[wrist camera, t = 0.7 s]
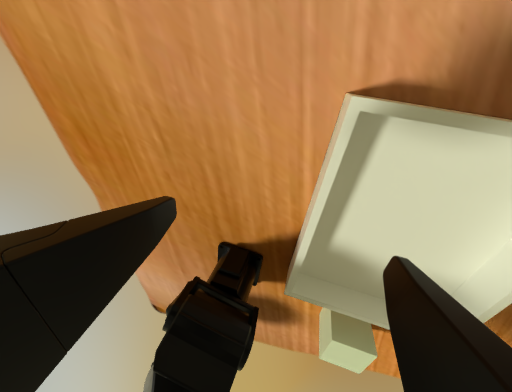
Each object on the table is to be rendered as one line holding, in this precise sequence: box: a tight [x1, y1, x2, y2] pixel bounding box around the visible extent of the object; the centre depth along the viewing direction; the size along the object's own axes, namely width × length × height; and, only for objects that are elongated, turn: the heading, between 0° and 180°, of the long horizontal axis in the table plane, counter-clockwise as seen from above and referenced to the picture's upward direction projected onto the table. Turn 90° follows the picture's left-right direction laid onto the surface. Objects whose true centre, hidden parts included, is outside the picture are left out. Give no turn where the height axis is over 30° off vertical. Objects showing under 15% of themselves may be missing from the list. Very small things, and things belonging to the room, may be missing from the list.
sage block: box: [319, 307, 378, 374], centre depth 27 cm, size 5×5×6 cm
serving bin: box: [284, 93, 512, 330], centre depth 19 cm, size 22×18×4 cm
